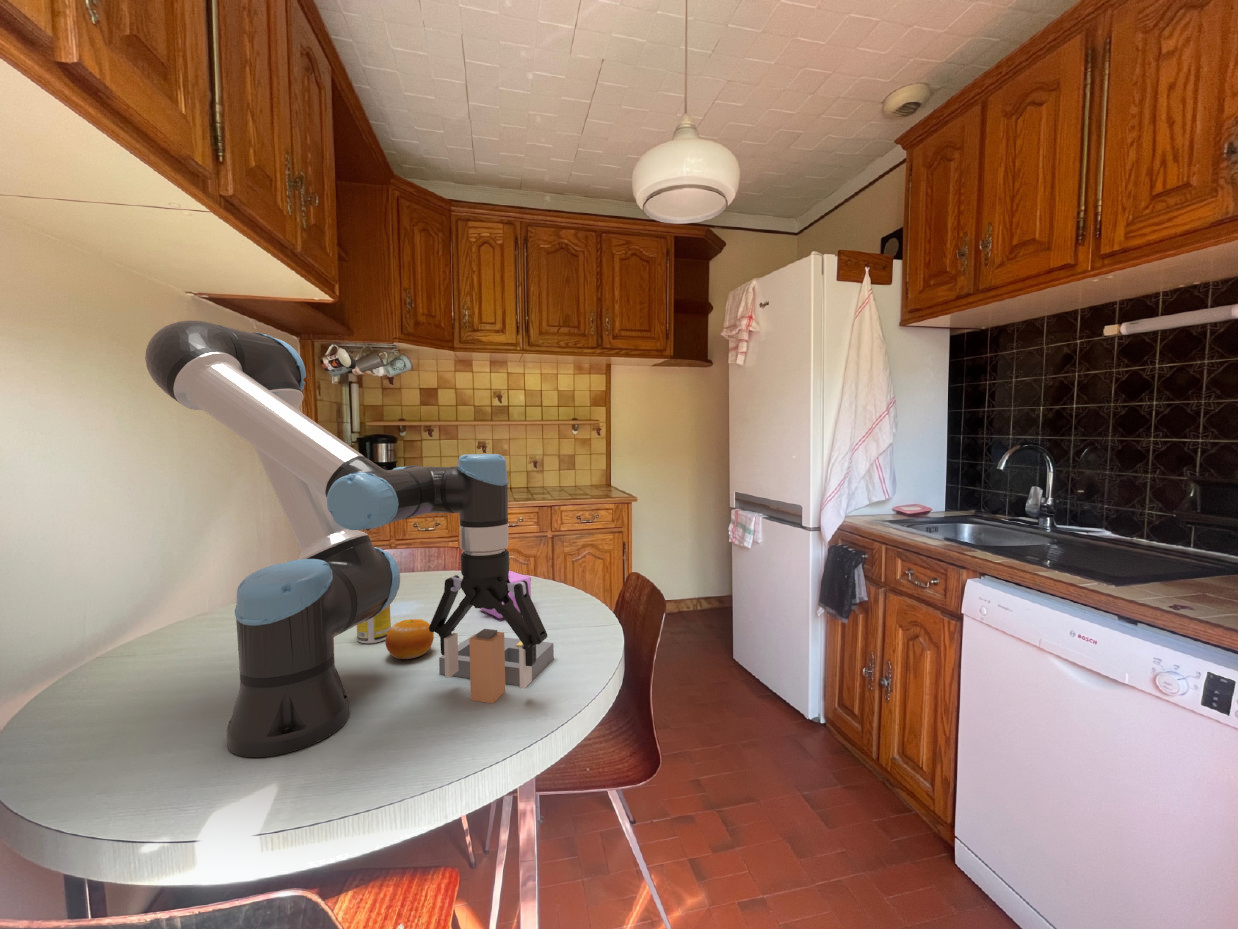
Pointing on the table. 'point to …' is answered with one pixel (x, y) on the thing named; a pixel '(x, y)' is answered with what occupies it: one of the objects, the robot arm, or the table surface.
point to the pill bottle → (375, 628)
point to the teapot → (513, 579)
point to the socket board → (511, 659)
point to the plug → (487, 665)
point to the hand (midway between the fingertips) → (488, 679)
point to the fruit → (409, 639)
